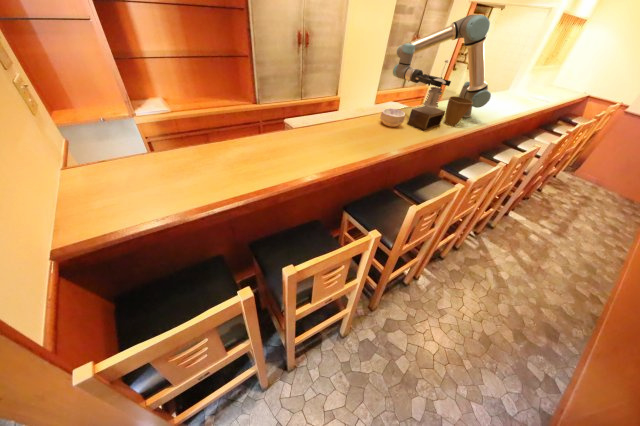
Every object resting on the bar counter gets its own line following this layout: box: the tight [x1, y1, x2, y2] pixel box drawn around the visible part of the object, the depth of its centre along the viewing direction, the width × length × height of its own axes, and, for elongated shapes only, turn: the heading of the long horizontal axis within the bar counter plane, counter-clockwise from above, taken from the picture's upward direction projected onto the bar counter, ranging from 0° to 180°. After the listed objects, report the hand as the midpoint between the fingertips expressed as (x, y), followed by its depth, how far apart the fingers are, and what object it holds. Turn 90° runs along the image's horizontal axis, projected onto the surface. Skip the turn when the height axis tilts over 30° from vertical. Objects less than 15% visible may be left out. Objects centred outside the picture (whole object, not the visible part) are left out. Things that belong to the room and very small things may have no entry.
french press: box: [422, 59, 449, 108], centre depth 147 cm, size 10×12×25 cm
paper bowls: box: [379, 107, 406, 128], centre depth 157 cm, size 15×15×8 cm
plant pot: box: [444, 95, 473, 126], centre depth 166 cm, size 15×15×16 cm
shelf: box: [406, 105, 446, 132], centre depth 160 cm, size 19×13×10 cm
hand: (445, 84), depth 144 cm, fingers closed on french press, 9 cm apart
